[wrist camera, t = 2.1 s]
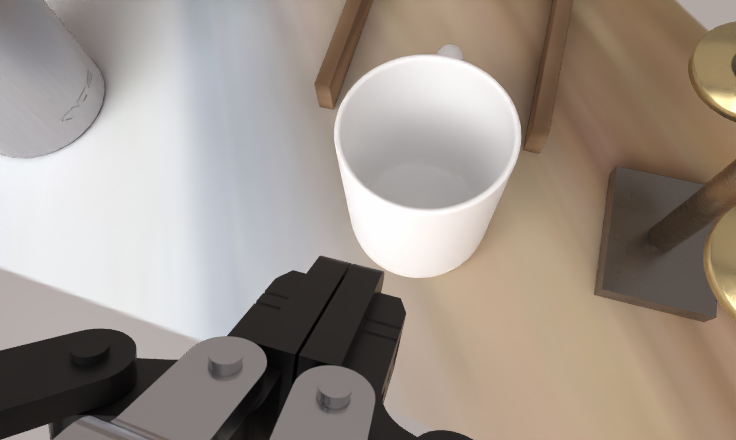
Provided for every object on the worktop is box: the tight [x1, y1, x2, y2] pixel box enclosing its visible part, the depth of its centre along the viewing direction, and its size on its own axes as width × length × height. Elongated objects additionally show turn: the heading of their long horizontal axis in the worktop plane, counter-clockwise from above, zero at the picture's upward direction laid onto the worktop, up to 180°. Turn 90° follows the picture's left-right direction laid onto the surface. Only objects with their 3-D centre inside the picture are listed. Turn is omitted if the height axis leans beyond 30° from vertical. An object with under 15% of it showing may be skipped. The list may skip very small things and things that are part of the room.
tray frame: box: [315, 0, 573, 153], centre depth 37 cm, size 15×15×2 cm
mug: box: [334, 44, 521, 278], centre depth 29 cm, size 12×8×10 cm
